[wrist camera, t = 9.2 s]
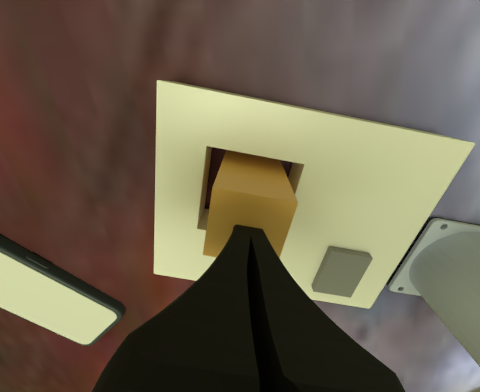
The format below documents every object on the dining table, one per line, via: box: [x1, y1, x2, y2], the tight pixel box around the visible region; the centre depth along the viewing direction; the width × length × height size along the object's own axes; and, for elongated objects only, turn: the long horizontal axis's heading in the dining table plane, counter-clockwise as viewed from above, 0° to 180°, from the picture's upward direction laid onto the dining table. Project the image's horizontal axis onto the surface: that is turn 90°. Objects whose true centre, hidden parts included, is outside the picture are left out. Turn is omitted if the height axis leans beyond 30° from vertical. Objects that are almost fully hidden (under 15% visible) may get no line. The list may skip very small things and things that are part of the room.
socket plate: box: [154, 80, 476, 309], centre depth 16 cm, size 18×14×4 cm
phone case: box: [0, 234, 126, 346], centre depth 24 cm, size 9×2×16 cm
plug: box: [203, 150, 298, 258], centre depth 14 cm, size 4×4×7 cm
